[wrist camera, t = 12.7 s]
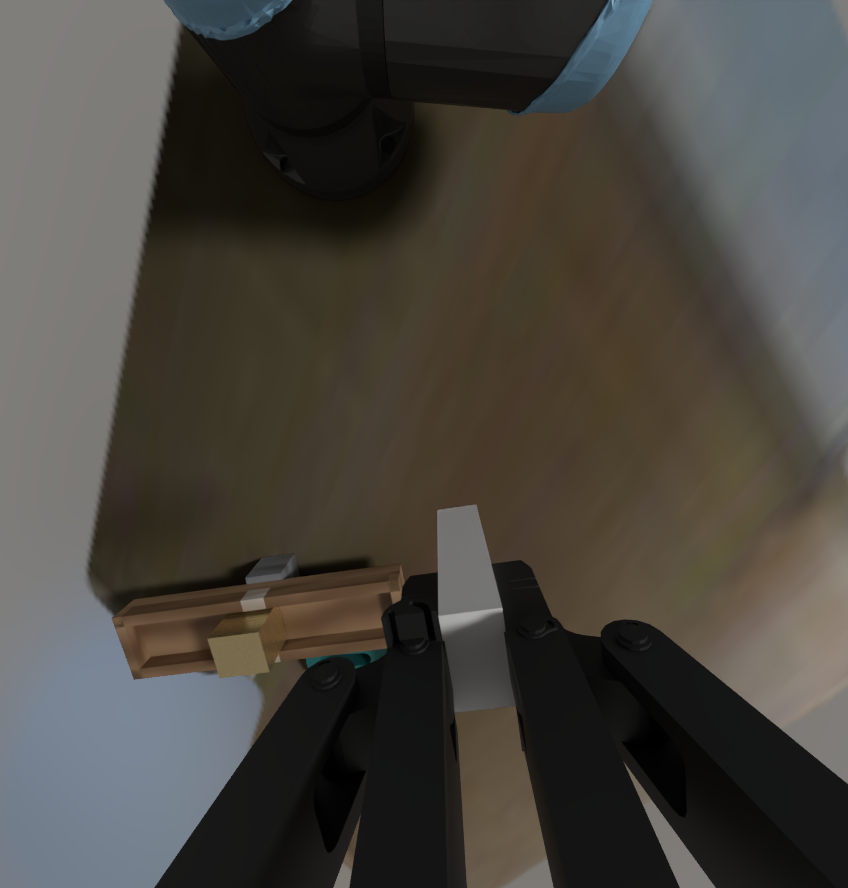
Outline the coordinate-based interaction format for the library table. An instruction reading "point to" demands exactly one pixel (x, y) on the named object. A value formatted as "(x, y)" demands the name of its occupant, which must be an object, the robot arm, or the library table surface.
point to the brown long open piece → (268, 585)
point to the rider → (247, 642)
